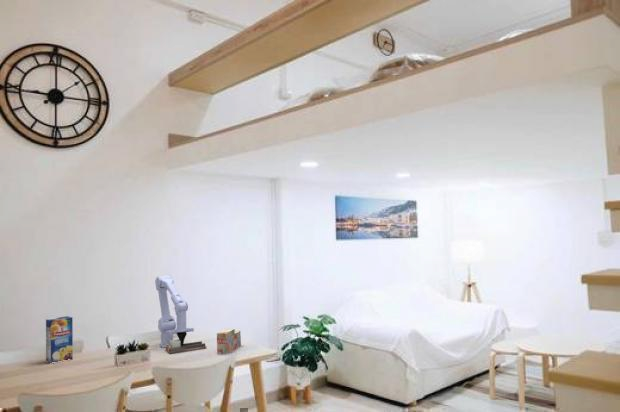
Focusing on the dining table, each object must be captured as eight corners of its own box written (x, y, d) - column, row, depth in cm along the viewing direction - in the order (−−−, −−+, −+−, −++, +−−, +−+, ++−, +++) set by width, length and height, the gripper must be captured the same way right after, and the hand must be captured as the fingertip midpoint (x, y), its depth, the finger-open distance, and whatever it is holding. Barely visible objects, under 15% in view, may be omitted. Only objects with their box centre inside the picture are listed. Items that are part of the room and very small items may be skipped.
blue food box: (67, 357, 286) (67, 316, 288) (72, 359, 281) (72, 317, 283) (45, 361, 278) (45, 319, 279) (50, 363, 273) (50, 320, 274)
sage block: (170, 348, 295) (169, 340, 295) (178, 347, 297) (178, 339, 298) (172, 350, 291) (172, 341, 291) (180, 349, 293) (180, 340, 293)
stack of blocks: (231, 345, 305) (231, 325, 306) (241, 345, 304) (240, 325, 304) (217, 353, 285) (216, 332, 285) (226, 354, 283) (226, 333, 284)
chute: (165, 350, 297) (165, 343, 297) (200, 344, 308) (200, 338, 308) (170, 354, 286) (170, 347, 287) (206, 348, 297) (206, 342, 298)
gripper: (171, 324, 290) (171, 347, 289) (195, 321, 297) (195, 344, 296) (168, 322, 296) (168, 345, 295) (191, 320, 303) (192, 342, 302)
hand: (181, 344), depth 296 cm, fingers closed
